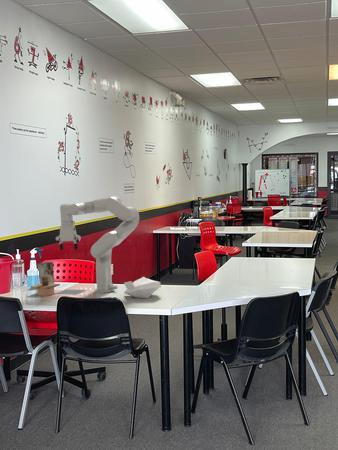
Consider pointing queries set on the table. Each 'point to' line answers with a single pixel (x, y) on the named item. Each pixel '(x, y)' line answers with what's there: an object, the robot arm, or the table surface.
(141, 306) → the table surface
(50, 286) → the lid
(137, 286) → the paper
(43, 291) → the bowl
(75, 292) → the mat
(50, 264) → the coffee box
